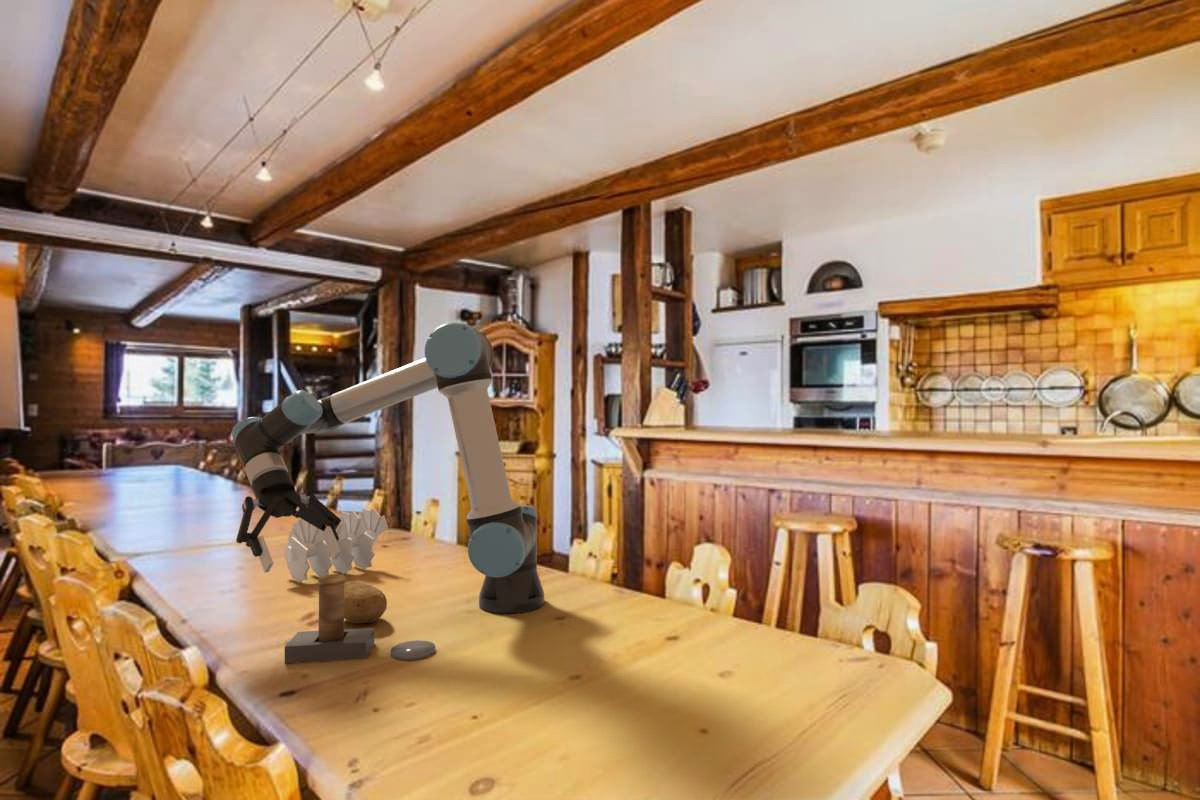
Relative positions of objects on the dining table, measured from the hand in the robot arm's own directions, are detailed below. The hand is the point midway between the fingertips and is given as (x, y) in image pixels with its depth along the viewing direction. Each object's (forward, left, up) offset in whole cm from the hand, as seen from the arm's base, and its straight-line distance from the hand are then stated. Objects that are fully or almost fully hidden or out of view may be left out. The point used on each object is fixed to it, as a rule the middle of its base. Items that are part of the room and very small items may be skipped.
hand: (304, 561), depth 128 cm
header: (-7, +7, -16) cm, 18 cm away
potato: (-9, -11, -16) cm, 21 cm away
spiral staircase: (+7, -54, -16) cm, 57 cm away
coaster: (-22, +9, -16) cm, 28 cm away
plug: (-7, +7, -16) cm, 18 cm away
